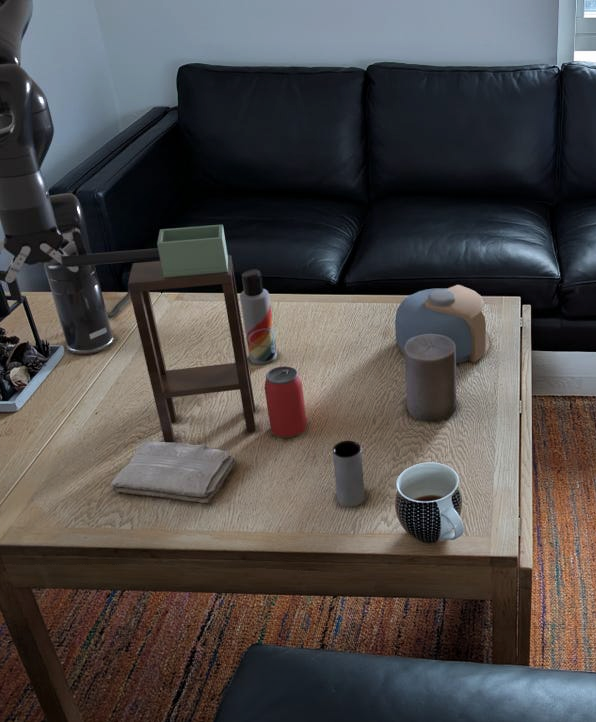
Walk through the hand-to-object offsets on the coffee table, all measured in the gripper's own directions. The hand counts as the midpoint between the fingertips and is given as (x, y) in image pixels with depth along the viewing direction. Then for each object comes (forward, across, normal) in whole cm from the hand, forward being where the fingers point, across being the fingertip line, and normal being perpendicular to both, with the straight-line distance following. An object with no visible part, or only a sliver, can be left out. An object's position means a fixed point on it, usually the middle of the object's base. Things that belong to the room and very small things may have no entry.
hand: (49, 296), depth 136 cm
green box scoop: (-3, -16, +5) cm, 17 cm away
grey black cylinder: (+31, -37, +35) cm, 60 cm away
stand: (+29, -21, +4) cm, 36 cm away
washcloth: (+30, -12, +17) cm, 36 cm away
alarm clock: (+28, -72, -4) cm, 77 cm away
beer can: (+29, -33, +12) cm, 46 cm away
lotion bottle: (+28, -36, -16) cm, 48 cm away
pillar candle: (+29, -60, +17) cm, 69 cm away
